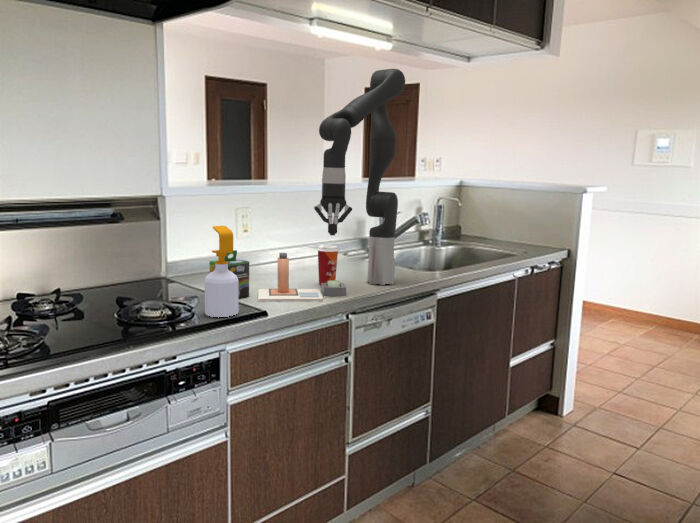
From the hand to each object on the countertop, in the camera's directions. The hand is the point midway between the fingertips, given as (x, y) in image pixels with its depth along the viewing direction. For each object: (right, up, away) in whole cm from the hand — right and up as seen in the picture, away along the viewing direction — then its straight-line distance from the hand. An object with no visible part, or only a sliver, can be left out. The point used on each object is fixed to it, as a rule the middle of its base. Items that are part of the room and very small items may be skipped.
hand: (332, 235), depth 187 cm
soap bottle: (-30, -24, -28) cm, 47 cm away
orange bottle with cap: (-16, -18, -2) cm, 24 cm away
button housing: (0, -19, +1) cm, 20 cm away
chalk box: (-32, -20, -7) cm, 39 cm away
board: (-14, -20, -4) cm, 24 cm away
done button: (0, -19, +1) cm, 19 cm away
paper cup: (-2, -17, +15) cm, 23 cm away
